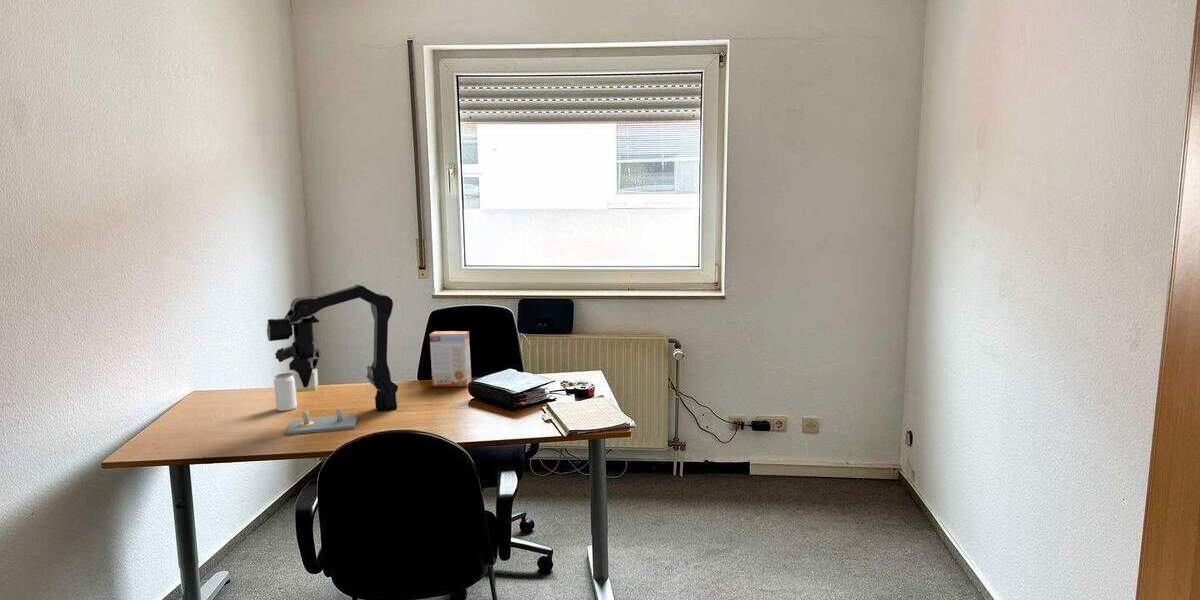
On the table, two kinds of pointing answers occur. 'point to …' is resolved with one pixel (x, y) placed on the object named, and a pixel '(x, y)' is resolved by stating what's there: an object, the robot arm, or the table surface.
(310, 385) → the sleeve
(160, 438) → the table surface
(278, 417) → the table surface
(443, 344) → the cracker box
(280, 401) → the can
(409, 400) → the table surface
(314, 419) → the board
